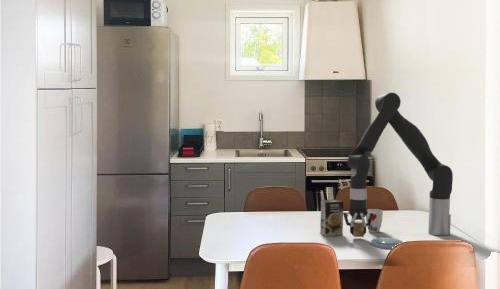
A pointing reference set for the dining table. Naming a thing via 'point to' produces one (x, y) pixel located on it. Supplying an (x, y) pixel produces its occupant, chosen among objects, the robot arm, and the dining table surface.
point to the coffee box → (331, 217)
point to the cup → (375, 220)
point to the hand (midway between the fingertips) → (357, 234)
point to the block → (358, 229)
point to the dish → (385, 242)
